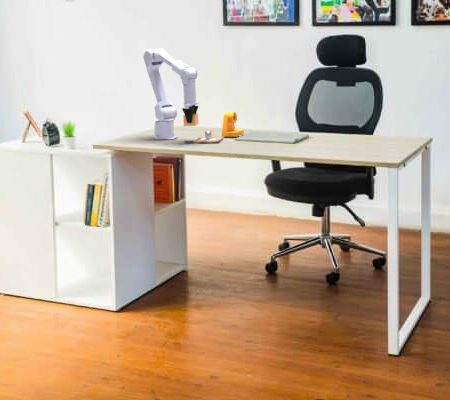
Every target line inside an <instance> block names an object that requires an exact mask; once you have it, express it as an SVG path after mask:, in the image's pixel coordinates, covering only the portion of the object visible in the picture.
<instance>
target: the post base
mask: <svg viewBox="0 0 450 400" xmlns="http://www.w3.org/2000/svg"><path fill="white" fill-rule="evenodd" d="M211 137H212V136H211ZM223 140H224V136H221V137H217V136H216V137H212V139H210V140H206V139H205V137H198V138H196V139H195V140H194V141H193V144H195V145H196V144H197V145H198V144H199V145H200V144H201V145H203V144H205V145H207V144H209V145H210V144H215V145H216V144H217V145H218V144H220V143H221V142H222V141H223Z"/></svg>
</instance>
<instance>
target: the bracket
mask: <svg viewBox="0 0 450 400" xmlns="http://www.w3.org/2000/svg"><path fill="white" fill-rule="evenodd" d="M237 119H238V114H237V112H236V111H225V112H224V114H223V118H222V120H223V121H222V129H221V137H223V138H239V137H238V136H239V135H242V136H243V134H245V130H244V129H242V128H239V129H237V128H236V127H235V124H236V123H237V121H238V120H237Z"/></svg>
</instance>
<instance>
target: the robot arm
mask: <svg viewBox="0 0 450 400" xmlns="http://www.w3.org/2000/svg"><path fill="white" fill-rule="evenodd" d="M142 58H143V62H144V64H145V67H146V72H147V73H148V78H149V82H150V83H151V88H152V90H153V93H154V97H155V99H156V104H155V105H154V108H153V109H154V113H155V114H154V115H155V118H156V120H155V122H154V127H153V128H154V140H175V139H176V138H177V137H178V136H177V135H176V134H175V120H176V118H177V116H178V111H177V108H176V107H175V106H174V103H173V102H172V101H171V100H169V98H168V96H167V92H166V89H165V86H164V82H163V80H162V76H161V73H160V71H159V69H160V68H161V67H162V66H163V64H164V63H165V64H166V65H168V66H169V67H171V70H172V71H173V72H174V73H175V74H177V75H178V76H180V77H179V78H180V79H181V83H182V88H183V105H184V107H183V108H182V109H181V110H182V113H183V114H184V115H185V117H186V120H187V123H192V117H193V114H197V112H198V108H199V102H197V96H196V95H197V91H196V79H198V70H197V69H196V68H195V67H194V66H193V67H192V66H191V67H190V66H189V65H187V64H185V63H184V62H183V61H182V60H180V59H177V60H176V59H174V58H173V57H172V56H171V55H170V54H168V52H167V50H165V49H164V48H161V47H160V48H157V49H156V48H155V49H146V50H145V52H144V54H143V57H142Z"/></svg>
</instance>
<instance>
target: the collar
mask: <svg viewBox="0 0 450 400" xmlns="http://www.w3.org/2000/svg"><path fill="white" fill-rule="evenodd" d="M199 124H200V123H199V113H196V114H193V117H192V123H187V120H186V117H185V114H184V115H183V126H184V127H195V126H198V125H199Z"/></svg>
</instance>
